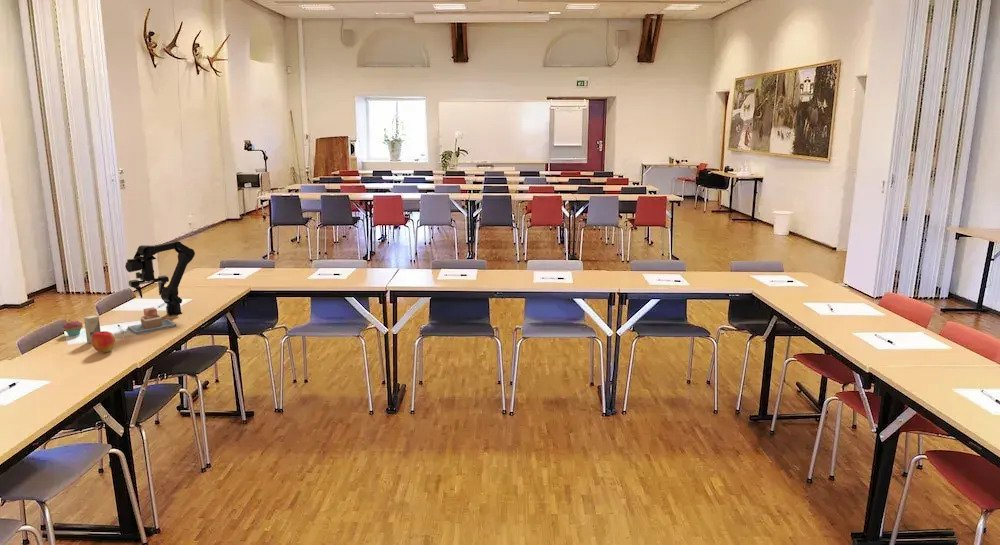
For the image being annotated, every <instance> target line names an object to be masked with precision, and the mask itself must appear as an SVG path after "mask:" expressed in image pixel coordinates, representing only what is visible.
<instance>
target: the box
mask: <svg viewBox="0 0 1000 545" xmlns="http://www.w3.org/2000/svg"><path fill="white" fill-rule="evenodd" d="M83 320H84V329H85V337H86V342H87V343H88V344H92V337H93V334H94V333H97V332H102V331H101V324H100V316H97V315H89V316H84V317H83Z"/></svg>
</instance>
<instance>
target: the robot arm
mask: <svg viewBox="0 0 1000 545" xmlns="http://www.w3.org/2000/svg"><path fill="white" fill-rule="evenodd" d="M171 250H174V251H175V253H177V260H178V261H177V264H176V266H175V270H174V271H173V273H172V277H171V278H170V279H169V277H168V276H167V275H158V276H157V278H155V270H154V263H153V260H157V257H156V256H155V255H156V254H158V253H162V252H165V251H166V252H167V251H171ZM195 255H196V253H195V250H194V249H193V248H190V247H189V246H187V245H185V244H183V243H182V242H180V241H179V240H173V241H170V242H168V241H167V242H163V243H158V244H154V245H149V244H147V245H145V244H144V245H143V244H142V245H139V246H138V247H137V249H136V252H135V255H134V256H133V258H127V260H126V263H125V265H124V268H125V270H126V271H127V272H128V273H132V272H135V278H136V279H132V280H129V281H128V286H129V287H130V288H132V289H135V290H136V291H137V293H138V295H139V296H140V298H141V299H143V292H142V287H141V286H140V285H145V284H151V283H156V282H157V285H158V294H159V296H160V298H161V300H163V303H164V304H166V306H165V310H166V314H167V315H168V316H175V315H181V314H183V312H182V309H181V304H182V302H183V299H182V298H181V297H180V296H179V286H180V283H181V281H182V279H183V275H184V273H185V271H186V269H187V266H188V264H189V263H191V262H192V261H193V259H194V257H195ZM137 271H139V272H137ZM140 271H141V272H140ZM138 279H140V280H138ZM168 282H169V283H168ZM167 283H168V285H167V286H165V285H166V284H167Z"/></svg>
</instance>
